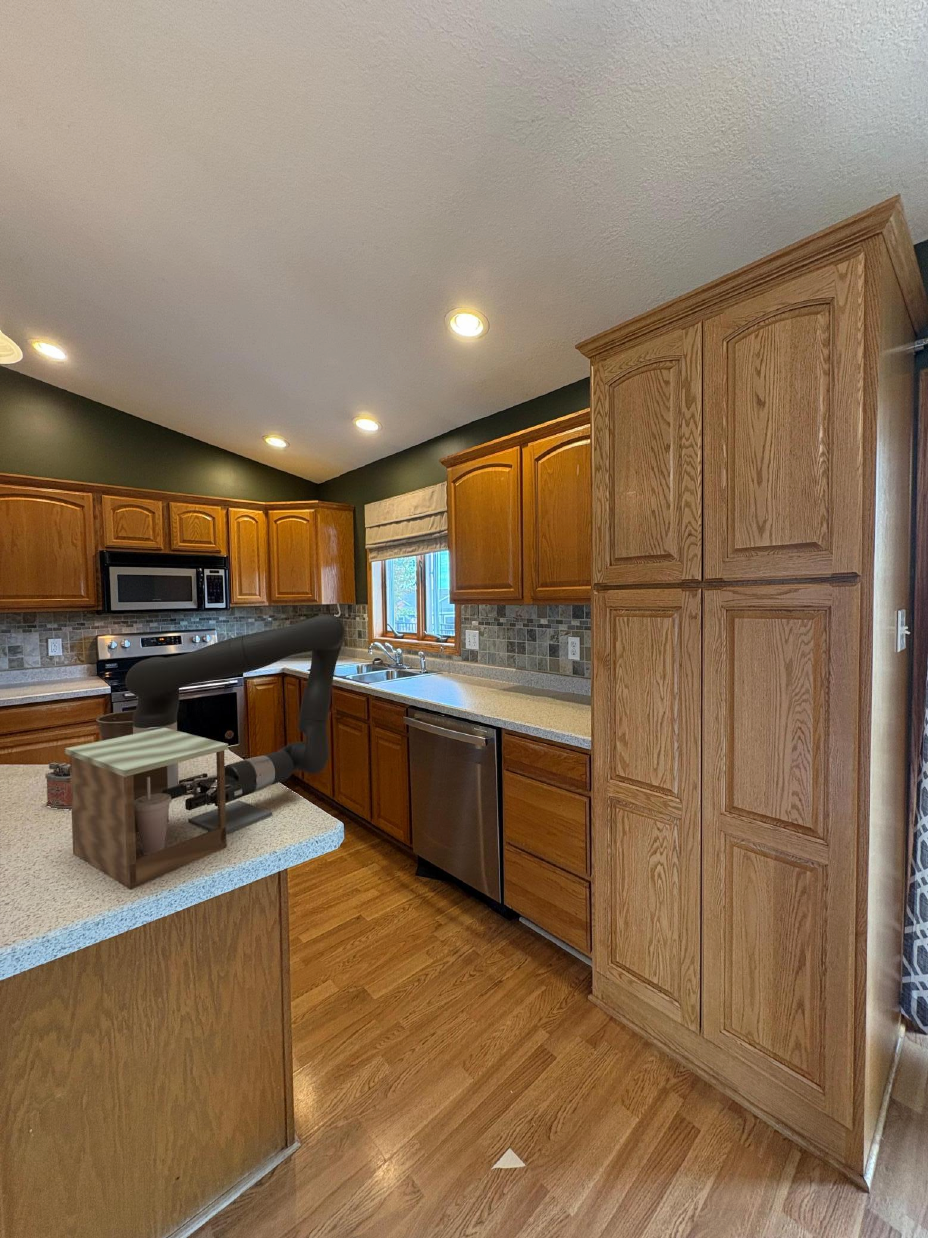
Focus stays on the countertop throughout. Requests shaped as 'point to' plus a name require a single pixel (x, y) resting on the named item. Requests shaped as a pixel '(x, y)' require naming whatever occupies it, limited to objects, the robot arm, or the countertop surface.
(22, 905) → the countertop surface
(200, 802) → the robot arm
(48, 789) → the lighter
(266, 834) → the countertop surface
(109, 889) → the countertop surface
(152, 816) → the smoothie
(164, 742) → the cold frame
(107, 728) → the plant pot
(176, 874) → the countertop surface
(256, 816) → the slate mat
